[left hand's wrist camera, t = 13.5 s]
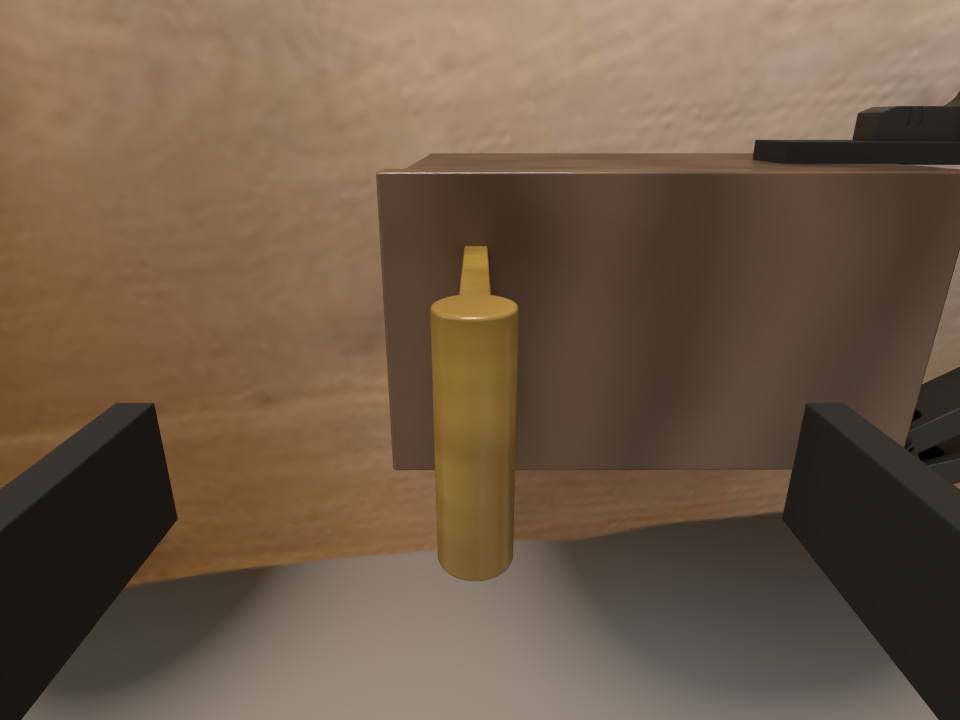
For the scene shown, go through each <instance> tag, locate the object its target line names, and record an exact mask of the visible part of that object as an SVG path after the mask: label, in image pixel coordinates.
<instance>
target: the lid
mask: <svg viewBox="0 0 960 720" xmlns="http://www.w3.org/2000/svg"><path fill="white" fill-rule="evenodd" d="M376 179H377V196H378V213H379V230H380V247H381V264H382V281H383V299H384V316H385V333H386V350H387V367H388V384H389V402H390V419H391V436H392V453H393V468H394V470H435V477H436V510H437V543H438V559H439V562H440V564H441V566H442V567H443V569H444V570H445V571H446V572H447V573H449V574H450V575H452V576H454V577H456V578H459V579H462V580H467V581H483V580H488V579H492V578H494V577H497V576H499V575H500V574H502V573H503V572H504V571H505V570H506V569H507V568H508V567H509V565H510V564H511V561H512V559H513V531H514V488H515V470H784V469H793V464H794V459H795V454H796V449H797V445H798V440H799V435H800V430H801V425H802V420H803V415H804V410H805V405H806V403H844V404H846V405H847V406H849V407H850V408H851V409H853V410H854V411H855V412H857V413H858V414H859V415H861V416H862V417H863V418H865V419H866V420H867V421H869V422H870V423H871V424H873V425H874V426H875V427H877V428H878V429H879V430H881V431H882V432H883V433H885V434H886V435H887V436H889V437H890V438H891V439H893V440H894V441H895V442H897V443H898V444H899V445H901V446H902V447H903V448H904V446H905V443H906V439H907V436H908V432H909V428H910V425H911V421H912V418H913V414H914V411H915V407H916V403H917V400H918V396H919V393H920V389H921V386H922V382H923V378H924V375H925V371H926V368H927V364H928V361H929V357H930V353H931V350H932V346H933V343H934V339H935V336H936V332H937V328H938V325H939V321H940V318H941V314H942V311H943V307H944V303H945V300H946V296H947V293H948V289H949V286H950V282H951V279H952V275H953V271H954V268H955V264H956V261H957V257H958V254H959V250H960V170H958V169H384V170H381V171H379V172H377V174H376Z"/></svg>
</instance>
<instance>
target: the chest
mask: <svg viewBox="0 0 960 720" xmlns="http://www.w3.org/2000/svg"><path fill="white" fill-rule="evenodd" d="M407 169H945V168H936V167H925V166H914V165H903V164H783V163H774V162H766V161H758V160H753V154H430V155H429V156H427V157H425V158H423V159H422V160H420V161H418V162H417V163H415V164H413V165H412V166H410V167H408V168H407Z"/></svg>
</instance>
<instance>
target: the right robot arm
mask: <svg viewBox="0 0 960 720" xmlns="http://www.w3.org/2000/svg"><path fill="white" fill-rule="evenodd" d="M753 160H758V161H766V162H774V163H783V164H903V165H960V91H959V93H958V94H957V96H956V97H955V98H954V99H953V100H952V101H951V102H949V103H948V104H946V105H944V106H892V107H872V108H870V109H867V110H865V111H862V112H860V113H858V116H857V120H856V125H855V130H854V135H853V140H756V141H755V148H754V154H753ZM904 448H905V449H906V450H907V451H909V452H910V453H911V454H913V455H914V456H915V457H917V458H918V459H919V460H921V461H922V462H924V463H925V464H926V465H928V466H929V467H930V468H932V469H933V470H934V471H936V472H937V473H938V474H940V475H941V476H942V477H944V478H945V479H946V480H948V481H949V482H950V483H952V484H955V483H959V482H960V367H959V368H956V369H954V370H952V371H950V372H948V373H946V374H943V375H941V376H939V377H937V378H935V379H933V380H931V381H928V382H926V383H924V384H922V386H921V389H920V393H919V396H918V400H917V403H916V407H915V411H914V414H913V418H912V421H911V425H910V428H909V432H908V436H907V439H906V443H905V446H904Z"/></svg>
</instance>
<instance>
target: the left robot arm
mask: <svg viewBox="0 0 960 720" xmlns="http://www.w3.org/2000/svg"><path fill="white" fill-rule="evenodd" d="M177 519H178V518H177V513H176V508H175V503H174V498H173V494H172V489H171V484H170V479H169V474H168V469H167V464H166V459H165V454H164V449H163V445H162V440H161V435H160V430H159V425H158V420H157V415H156V410H155V405H154V403H116V404H114V405H113V406H111V407H110V408H109V409H107V410H106V411H105V412H103V413H102V414H101V415H99V416H98V417H97V418H95V419H94V420H93V421H91V422H90V423H89V424H87V425H86V426H85V427H83V428H82V429H81V430H79V431H78V432H77V433H75V434H74V435H73V436H71V437H70V438H69V439H67V440H66V441H65V442H63V443H62V444H61V445H59V446H58V447H57V448H55V449H54V450H53V451H51V452H50V453H49V454H47V455H46V456H45V457H43V458H42V459H41V460H39V461H38V462H36V463H35V464H34V465H32V466H31V467H30V468H28V469H27V470H26V471H24V472H23V473H22V474H20V475H19V476H18V477H16V478H15V479H14V480H12V481H11V482H10V483H8V484H7V485H6V486H4V487H3V488H2V489H0V720H21V719H22V718H23V717H24V715H25V714H26V713H27V712H28V710H29V709H30V708H31V706H32V705H33V704H34V703H35V701H36V700H37V699H38V697H39V696H40V695H41V694H42V692H43V691H44V690H45V689H46V687H47V686H48V685H49V683H50V682H51V681H52V680H53V678H54V677H55V676H56V674H57V673H58V672H59V671H60V669H61V668H62V667H63V665H64V664H65V663H66V662H67V660H68V659H69V658H70V656H71V655H72V654H73V653H74V651H75V650H76V649H77V647H78V646H79V645H80V644H81V642H82V641H83V640H84V638H85V637H86V636H87V635H88V633H89V632H90V631H91V630H92V628H93V627H94V626H95V624H96V623H97V622H98V621H99V619H100V618H101V617H102V615H103V614H104V613H105V612H106V610H107V609H108V608H109V606H110V605H111V604H112V602H113V601H114V600H115V599H116V597H117V596H118V595H119V594H120V592H121V591H122V590H123V588H124V587H125V586H126V585H127V583H128V582H129V581H130V580H131V578H132V577H133V576H134V574H135V573H136V572H137V571H138V569H139V568H140V567H141V565H142V564H143V563H144V562H145V560H146V559H147V558H148V556H149V555H150V554H151V553H152V551H153V550H154V549H155V547H156V546H157V545H158V544H159V542H160V541H161V540H162V538H163V537H164V536H165V535H166V533H167V532H168V531H169V529H170V528H171V527H172V526H173V524H174V523H175V522H176V521H177ZM782 519H783V520H784V522H785V523H786V524H787V526H788V527H789V528H790V529H791V531H792V532H793V533H794V535H795V536H796V537H797V538H798V540H799V541H800V542H801V544H802V545H803V546H804V547H805V549H806V550H807V551H808V553H809V554H810V555H811V556H812V558H813V559H814V560H815V562H816V563H817V564H818V565H819V567H820V568H821V569H822V571H823V572H824V573H825V574H826V576H827V577H828V578H829V580H830V581H831V582H832V583H833V585H834V586H835V587H836V588H837V590H838V591H839V592H840V594H841V595H842V596H843V597H844V599H845V600H846V601H847V603H848V604H849V605H850V606H851V608H852V609H853V610H854V612H855V613H856V614H857V615H858V617H859V618H860V619H861V621H862V622H863V623H864V624H865V626H866V627H867V628H868V630H869V631H870V632H871V633H872V635H873V636H874V637H875V638H876V640H877V641H878V642H879V644H880V645H881V646H882V647H883V649H884V650H885V651H886V653H887V654H888V655H889V656H890V658H891V659H892V660H893V662H894V663H895V664H896V665H897V667H898V668H899V669H900V671H901V672H902V673H903V674H904V676H905V677H906V678H907V680H908V681H909V682H910V683H911V685H912V686H913V687H914V688H915V690H916V691H917V692H918V693H919V695H920V696H921V697H922V699H923V700H924V701H925V703H926V704H927V705H928V706H929V708H930V709H931V710H932V712H933V713H934V714H935V715H936V717H937V718H938V719H939V720H960V489H958V488H957V487H956V486H954V485H953V484H952V483H950V482H949V481H948V480H946V479H945V478H944V477H942V476H941V475H940V474H938V473H937V472H936V471H934V470H933V469H932V468H930V467H929V466H928V465H926V464H925V463H924V462H922V461H921V460H919V459H918V458H917V457H915V456H914V455H913V454H911V453H910V452H909V451H907V450H906V449H905V448H903V447H902V446H901V445H899V444H898V443H897V442H895V441H894V440H893V439H891V438H890V437H889V436H887V435H886V434H885V433H883V432H882V431H881V430H879V429H878V428H877V427H875V426H874V425H873V424H871V423H870V422H869V421H867V420H866V419H865V418H863V417H862V416H861V415H859V414H858V413H857V412H855V411H854V410H853V409H851V408H850V407H849V406H847V405H846V404H844V403H806V405H805V410H804V415H803V420H802V425H801V430H800V435H799V440H798V445H797V449H796V454H795V459H794V464H793V469H792V474H791V479H790V484H789V489H788V494H787V498H786V503H785V508H784V513H783V518H782Z"/></svg>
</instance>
